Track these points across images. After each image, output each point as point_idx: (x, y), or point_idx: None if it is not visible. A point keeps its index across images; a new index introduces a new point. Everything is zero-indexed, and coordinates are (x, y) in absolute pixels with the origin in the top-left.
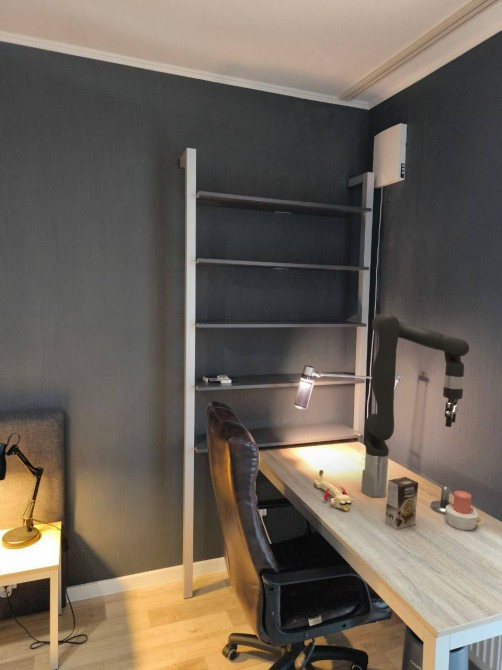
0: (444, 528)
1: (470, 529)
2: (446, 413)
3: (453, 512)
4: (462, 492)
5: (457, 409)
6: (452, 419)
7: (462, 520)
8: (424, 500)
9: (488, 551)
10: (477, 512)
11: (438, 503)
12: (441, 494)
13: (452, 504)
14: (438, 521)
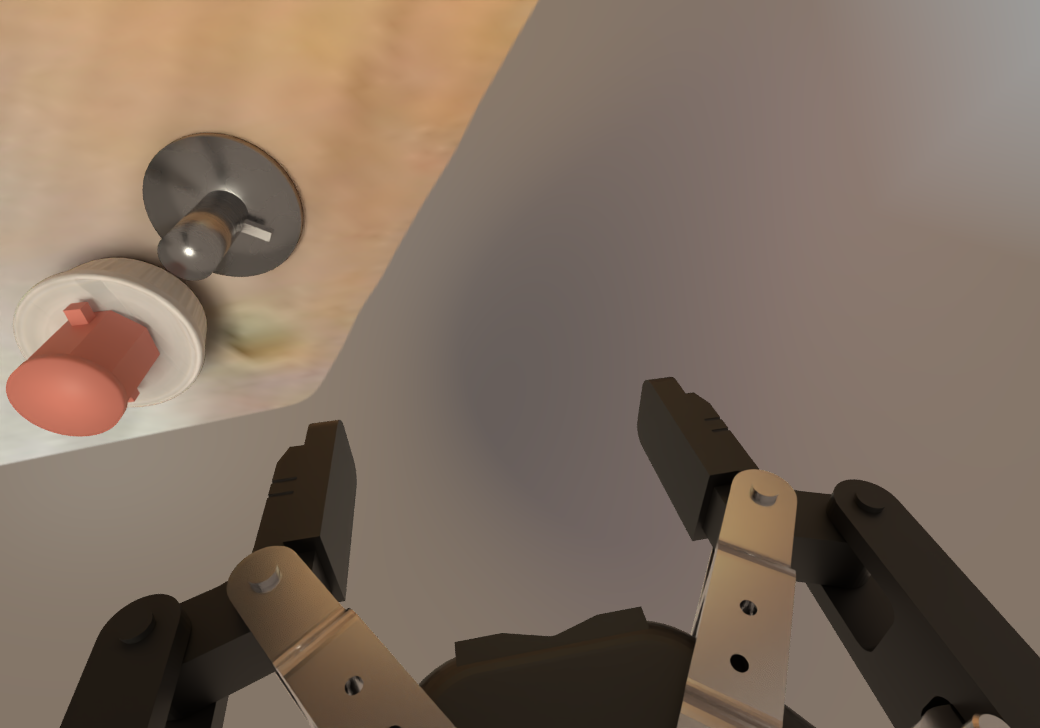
0: (4, 271)
1: None
2: (139, 693)
3: (37, 325)
4: (90, 391)
5: (831, 589)
6: (656, 435)
7: None
8: (235, 77)
9: (15, 439)
10: (174, 397)
11: (232, 175)
12: (181, 219)
13: (68, 318)
14: (46, 227)
